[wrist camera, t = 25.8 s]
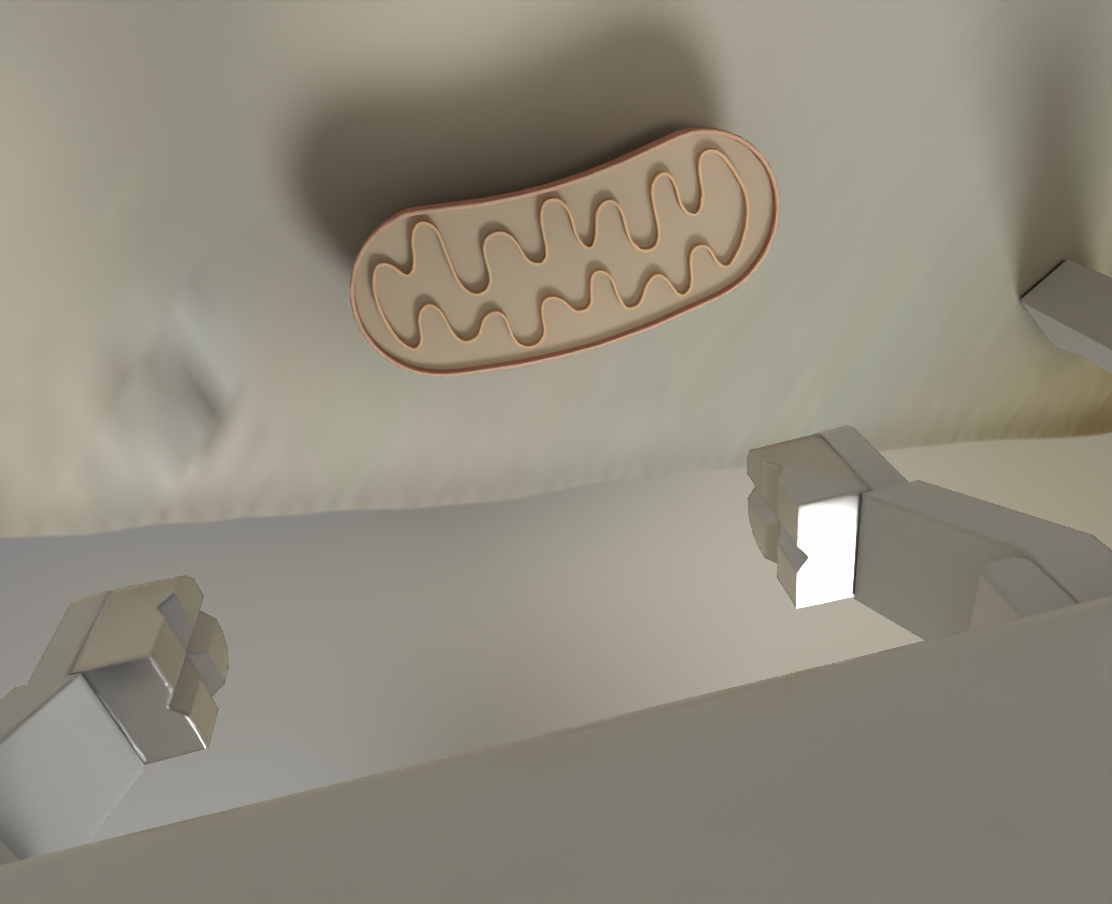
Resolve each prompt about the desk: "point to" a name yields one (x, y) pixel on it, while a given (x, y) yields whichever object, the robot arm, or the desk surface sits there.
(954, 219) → the desk surface
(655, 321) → the anatomical model
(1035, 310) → the vintage mobile phone
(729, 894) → the robot arm
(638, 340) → the desk surface
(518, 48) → the desk surface
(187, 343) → the desk surface
